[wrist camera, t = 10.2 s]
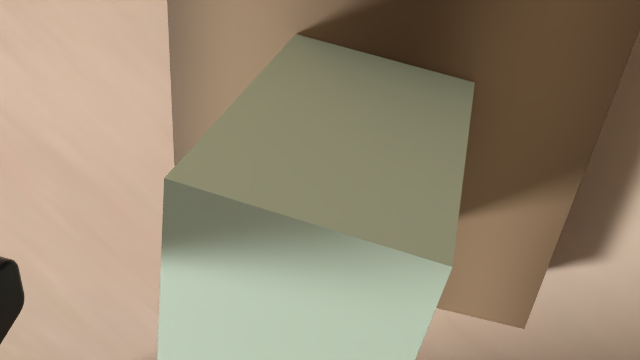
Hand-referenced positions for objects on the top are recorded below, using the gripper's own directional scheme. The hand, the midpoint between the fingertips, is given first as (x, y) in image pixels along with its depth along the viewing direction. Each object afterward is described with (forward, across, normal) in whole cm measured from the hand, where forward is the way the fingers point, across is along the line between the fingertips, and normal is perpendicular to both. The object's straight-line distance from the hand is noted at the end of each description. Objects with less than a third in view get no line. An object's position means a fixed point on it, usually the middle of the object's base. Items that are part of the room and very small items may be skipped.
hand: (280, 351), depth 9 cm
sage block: (+8, 0, 0) cm, 8 cm away
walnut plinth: (+11, 0, 0) cm, 11 cm away
